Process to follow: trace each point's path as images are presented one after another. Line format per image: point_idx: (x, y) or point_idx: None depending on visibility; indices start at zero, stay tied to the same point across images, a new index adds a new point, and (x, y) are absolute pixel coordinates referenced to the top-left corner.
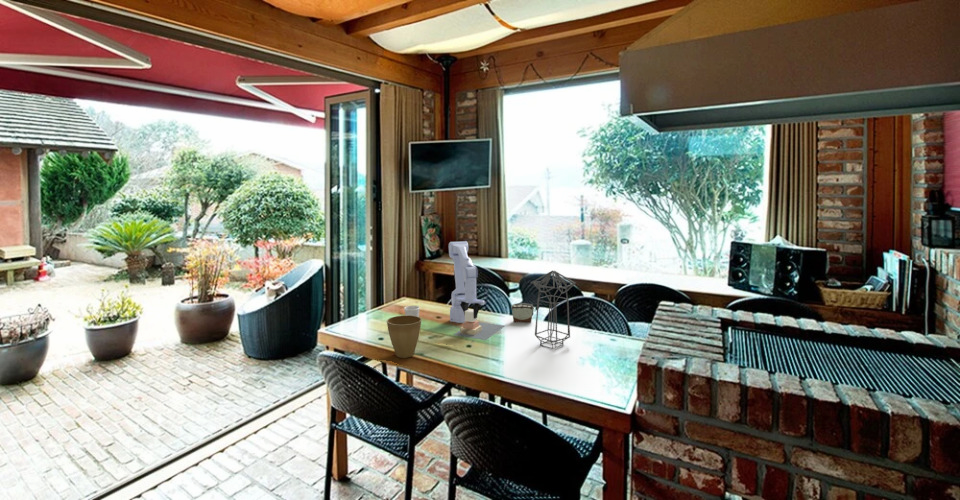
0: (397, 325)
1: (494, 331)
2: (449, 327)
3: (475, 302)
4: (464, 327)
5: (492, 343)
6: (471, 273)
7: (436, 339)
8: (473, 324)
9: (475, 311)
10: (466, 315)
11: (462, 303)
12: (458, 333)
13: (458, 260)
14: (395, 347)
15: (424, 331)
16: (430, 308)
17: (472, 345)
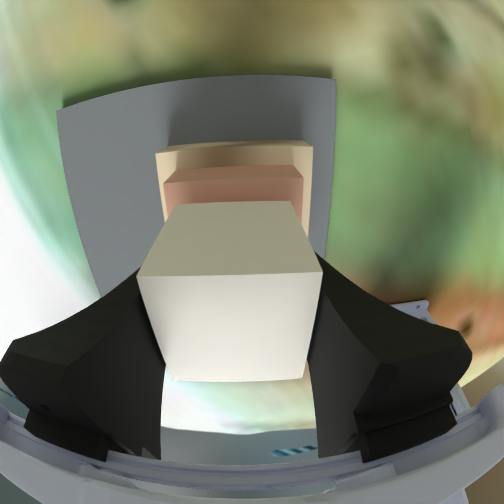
0: None
1: (106, 275)
2: (416, 242)
3: (20, 455)
4: (276, 165)
5: (27, 111)
6: None
7: (394, 5)
8: (164, 182)
9: (96, 302)
10: (272, 235)
11: (426, 405)
12: (309, 122)
13: None
14: None
15: (497, 133)
16: (478, 366)
17: (103, 6)
